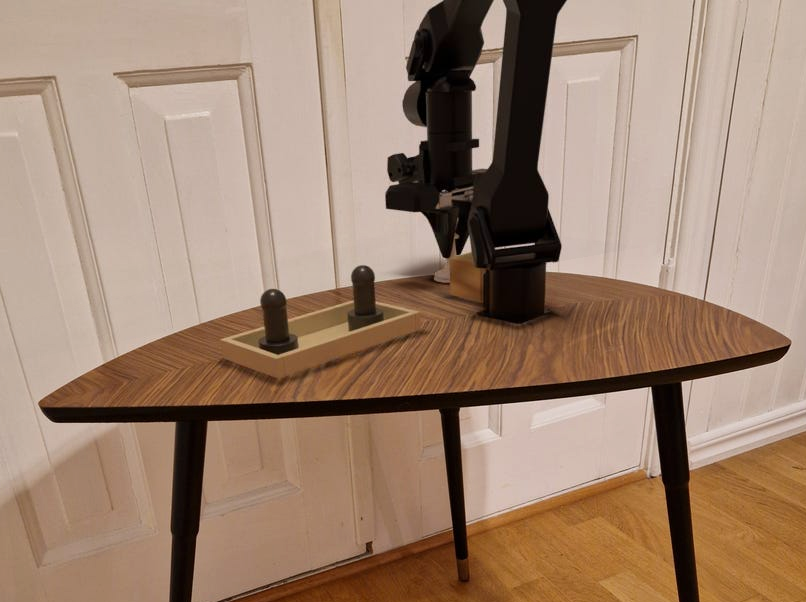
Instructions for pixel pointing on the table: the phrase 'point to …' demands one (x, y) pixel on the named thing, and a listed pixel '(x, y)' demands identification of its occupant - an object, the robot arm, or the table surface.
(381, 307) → the tray
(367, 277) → the pawn
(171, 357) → the table surface
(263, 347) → the pawn
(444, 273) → the chess piece
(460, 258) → the maple block
